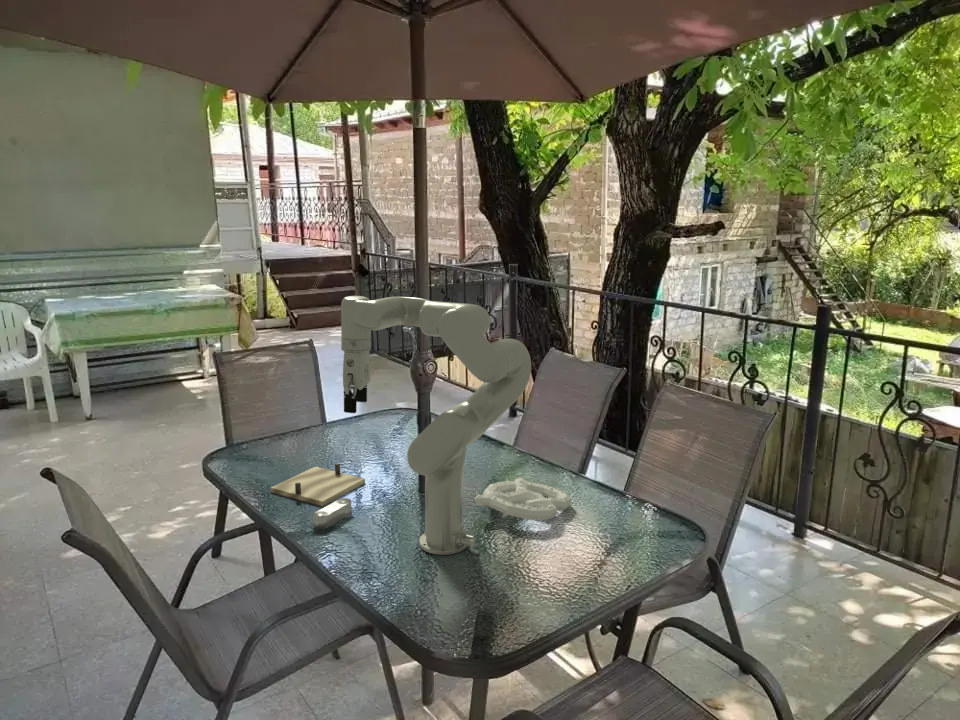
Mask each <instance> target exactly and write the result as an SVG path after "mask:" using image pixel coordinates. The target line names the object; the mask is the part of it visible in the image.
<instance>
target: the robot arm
mask: <svg viewBox="0 0 960 720" xmlns="http://www.w3.org/2000/svg"><path fill="white" fill-rule="evenodd" d="M340 305H341V308H340V309H341V311H340V316H341V317H340V318H341V323H340V325H341V326H340V327H341V329H340V331H341V332H340V333H341V334H340V336H341V338H340V339H341V340H340V342H341V345H340V347H341V348H340V350H341V351H343V363H342V386H343V412H344V413H349V414H356V413H357V403H367V401H368V384H369V383H370V382H371V359H370V358H371V357H370V356H371V355H370V351H371V350H372V349H371V346H372V341H371V340H372V339H371V338H372V337H371V336H372V335H371V334H372V331H380V330H384V329H387V328H392V327H395V326H409V327H410V326H411V327H418V328H420V330H421V332H422V334H424V335H426V336H429V337H436V338H437V337H438V338H439V337H440V338H441V339H442V340H443V342H444V344H445V345H446V347H448V348H449V350H450V351H451V352H452V353H453V354H454V356H456V357H457V359H458V360H459V361H460V362H461V363H462V365H463V366H464V367H465V368H466V369H467V370H468V372H470V374H472V375H473V377H475V378H476V380H477V379H478V380H479V381H481V382H483V383H482V384H481V385H480V386H479V387H478V388H477V389H476V391H474V392H473V393H472V394H471V395H470V396H469V397H468V398H466V399H465V400H464V401H462V402H460V403H458V404H456V405H454V406H451V407H450V408H448V409H447V410H445V411H443V412H442V413H441V414H439V415H437V416H436V418H434V419H433V421H431V422H430V423H429V424H428V425H427V426H426V427H425V429H424V430H422V431H421V433H419V434H418V435H417V436H416V437H415V438H414V439H413V440H412V442H411V443H410V445H409V446H408V449H407V453H406V454H407V455H406V457H407V463H408V466H409V468H410V469H411V470H412V472H414V473H415V474H418V475H420V476H424V477H425V478H424V479H425V482H424V483H425V484H424V495H425V496H424V500H425V501H424V509H425V511H424V513H425V514H424V517H425V518H424V519H425V520H424V522H425V523H424V528H425V530H424V533H423V534H422V535H421V536H420V537H419V540H418V541H419V542H418V544H419V547H420V548H421V549H422V550H423V551H425V552H427V553H429V554H433V555H438V556H448V555H454V554H458V553H460V552H463V551H464V550H465V549H467V548H472V549H473V548H474V547H475V536H474V535H471V534H467V528H466V527H465V526H463V492H464V491H463V490H464V489H463V488H464V485H463V483H464V482H463V481H464V467H465V460H466V457H467V456H466V455H467V446H468V445H470V444H472V443H473V442H475V441H477V440H478V439H479V438H481V437H482V436H483V435H484V434H485V432H486V431H487V430H488V429H490V427H491V426H492V425H493V424H494V423H495V422H496V421H497V420H498V419H500V418H501V417H502V416H503V415H504V413H505V412H507V410H509V408H510V407H511V406H513V405H514V404H515V402H517V400H518V399H519V398H520V397H521V396H522V395H523V393H524V392H525V391H526V388H527V386H528V384H529V381H530V379H531V378H530V377H531V375H532V374H531V372H532V360H531V355H530V352H529V351H528V349H527V346H526V345H525V344H524V343H523V342H521V341H520V340H517V339H515V338H503V339H500V340H496V341H494V342H490V341H489V339H487V338H486V336H485V335H486V333H487V332H488V330H489V329H490V326H491V317H490V314H489V313H488V311H487V310H486V308H484V307H482V306H481V305H477V304H473V303H464V302H462V303H461V302H448V301H437V300H429V299H425V298H422V297H421V298H419V297H409V296H389V297H384V298H383V297H382V298H379V299H374V300H370V298H368V297H366V296H362V295H348V296H344V297H343V299H341V304H340Z"/></svg>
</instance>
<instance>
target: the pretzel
mask: <svg viewBox="0 0 960 720" xmlns="http://www.w3.org/2000/svg"><path fill="white" fill-rule="evenodd" d="M545 496H546V497H545ZM547 497H548V498H547ZM474 503H475V504H476V506H478V507H486V506H488V507H489V508H491V509H493V510H496V511H498V512H501V513H503V514H505V515H507V516H510V517H514V518H522V519H526V520H531V521H533V520H534V521H537V520H539V521H541V520H550V519H552V518H554V517H556V516H557V514H558V511H559V512H562V511H565V510H567V509H568V508H570V506H571V505H572V499H571V498H570V496H569V494H567V493H566V492H564V491H562V490H560V489H559V488H558V487H556V488H555V487H552V486H550V485H549V484H547V485H546V484H542V483H535V482H529V481H527V480H526V479H525V478H522V477H518V478H515V480H512V481H511V480H508V479H506V480H504V481H501V482H500V481H496V482H495V483H490V484H489V485H488V486H487V487H486V488H485V489H484V490H483V493H482V494H477V495H476V497H475V498H474Z"/></svg>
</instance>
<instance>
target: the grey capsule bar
mask: <svg viewBox="0 0 960 720" xmlns="http://www.w3.org/2000/svg"><path fill="white" fill-rule="evenodd" d="M351 514H352V500H351V499H350V498H348V497H347V498H346V497H344V498H338V499H337V500H334V501H332V503H329V504H328V505H325V506H324V507H322V508H321V509H319V510H317V511H315V512H314V513H313V514H312V524H313V526H312V527H313V529H315V530H320V531H322V530H325V529H327V528H329V527H331V526H332V525H335V524H336V523H338V522H340V521H341V520H343V519H344V518H346V517H348V516H349V515H351Z"/></svg>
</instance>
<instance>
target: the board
mask: <svg viewBox="0 0 960 720" xmlns="http://www.w3.org/2000/svg"><path fill="white" fill-rule="evenodd" d="M364 484H366V478H364V477H360V476H356V475H351V474H348V473H344V472H341V464H340V463H334V470H331V469H327V468H324V467H319V466H313V467H312V468H309V469H307V470H305V471H303V472H300V473H299V474H296V475H295V476H293V477H290V478H288V479H286V480H284V481H282V482H280V483H278V484H275V485H273V486H271V487H270V492H271V493H273V494H276V495H279V496H284V497H287V498H290V499H295V500H299V501H300V502H301V501H302V502H306V503H309V504H312V505H316V506H320V507H323V506H324V507H325V506H327V504H328V505H329V504H330V503H331V502H334V501H336V499H337V500H338V499H340V497H342V496H344V495H346V494H348V493H349V492H352V491H354V489H357V488H358V487H361V486H362V485H364Z"/></svg>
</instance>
